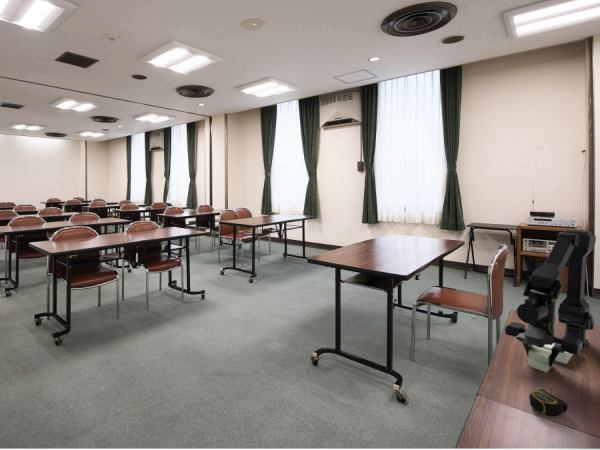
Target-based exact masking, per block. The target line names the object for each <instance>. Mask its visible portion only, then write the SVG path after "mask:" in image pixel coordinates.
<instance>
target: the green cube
mask: <svg viewBox="0 0 600 450" xmlns="http://www.w3.org/2000/svg"><path fill="white" fill-rule="evenodd" d="M551 352H552V351H551V350H547V349H544V348H539V347H537V346H533V347H532V348H531V349H530V350H529V355H528V356H527V358H528V359H527V367H529V368H532V369H536V370H538V371H542V372H544V373H548V372H549V371H550V370H551V368H552V367H553V365H552V366H551V367H550V366H549V362H550V357H551Z"/></svg>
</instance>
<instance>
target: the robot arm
mask: <svg viewBox="0 0 600 450" xmlns="http://www.w3.org/2000/svg"><path fill="white" fill-rule="evenodd" d="M555 240H556V241H555V243H554V245H553V247H552V248H551V250H550V252H549V253H548V256H547V258H546V260H545V261H544V264H543V265H541V266H539V267H536V268H535V269H534V271H533V272H532V274H531V275H530V276H529V277H528V281H527V283H526V285H525V288H524V290H523V293H522V296H523V297H527V298H525V299H524V302H523V303H522V304H520V305H518V307H517V308H516V314H517V316H518V318H519V320H521V321H522V322H523V323H519V322H516V321H511V322H510V323H508V324H507V325H505V327H504V334H505V335H507V336H510V337H514V338H515V339H516V340H517V341H519V342H521V343H522V346H523V347H524V351H525V353H526V356H527V357H528V355H529V350H530V349H531V348H532V345H534V346H537V347H539V348H542V347H544V346H545V345H548V344H549V345H552V344H553V343H554V346H553V347H552V348H551V351H552V352H551V357H550V362H549V366H550V367H551V366H552V367H553V365H554V364H555V362H556V361H555V359H556V358H557V356H558V354H559V353H564V352H568V353H571V354H573V355H578V354H579V353H580V352H581V351H582V350H583V348H585V347H586V345H587V344H588V343H589V339H586V338H587V337H586V336H587V331H590V330H592V331H593V330H594V327H595V319H594V317H593V315H592V313H591V312H590V311H591V308H590V307H591V306H590V304H589V303H588V302H587V300H586V299H585V285H586V284H585V283H586V269H587V268H586V266H587V256H588V255H589V254H590V253H591V252H592V251H593V249H594V246H595V245H596V242H597V236H596V235H595V234H594V233H593V232H592V231H591V230H580V229H579V230H578V229H571V228H570V229H567V230H566V231H565V232H564V231H563V232H562V231H561V232H559V233H557V235H556V239H555ZM566 264H567V276H566V277H567V279H566V296H565V298H564V299H563V301H561V302H560V303H559V307H558V310H557V315H558V316H557V317H558V323H560V324H565V325H564V336H562V337H558V336H555V321H556V317H555V316H556V303H557V302H556V301H558V300H559V298H560V295H561V294H562V291H563V289H564V285H563V282H564V281H563V279H562V276H561V275H562V272H563V271H564V269H565V266H566ZM524 323H525V324H528V325H527V327H526V325H525V324H524ZM552 367H551V368H552Z"/></svg>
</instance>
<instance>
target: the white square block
mask: <svg viewBox="0 0 600 450" xmlns="http://www.w3.org/2000/svg"><path fill="white" fill-rule="evenodd" d="M533 346H534V345H532V347H533ZM553 346H554V343H553V344H552V345H549V344H548V345H545V346H544V347H542V348H544V349H547V350H551V348H552V347H553ZM573 356H574V354H571V353H568V352H564V353H559V354H558V356H557V358H556V359H555V361H554V362H558V363H562V364H565V365H566V364H568V362H569V361H570V360H571V358H572V357H573Z"/></svg>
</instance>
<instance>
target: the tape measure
mask: <svg viewBox="0 0 600 450" xmlns="http://www.w3.org/2000/svg"><path fill="white" fill-rule="evenodd" d="M528 400H529V404H530V407H531V408H532V409H534V411H537V412H538V413H540V414H542V415H545V416H547V417H553V418H555V417H559V416H561V415H562V414H564V413H566V412H567V411H568V407H569V406H568V404H567V403H566V402H565V401H563V400H562V399H561V398H559V397H557V396H555V395H554V394H552V393H550V392H548V391H546V390H545V389H543V388H539V389H538V390H533V391H531V393H530V394H529V395H528Z"/></svg>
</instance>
